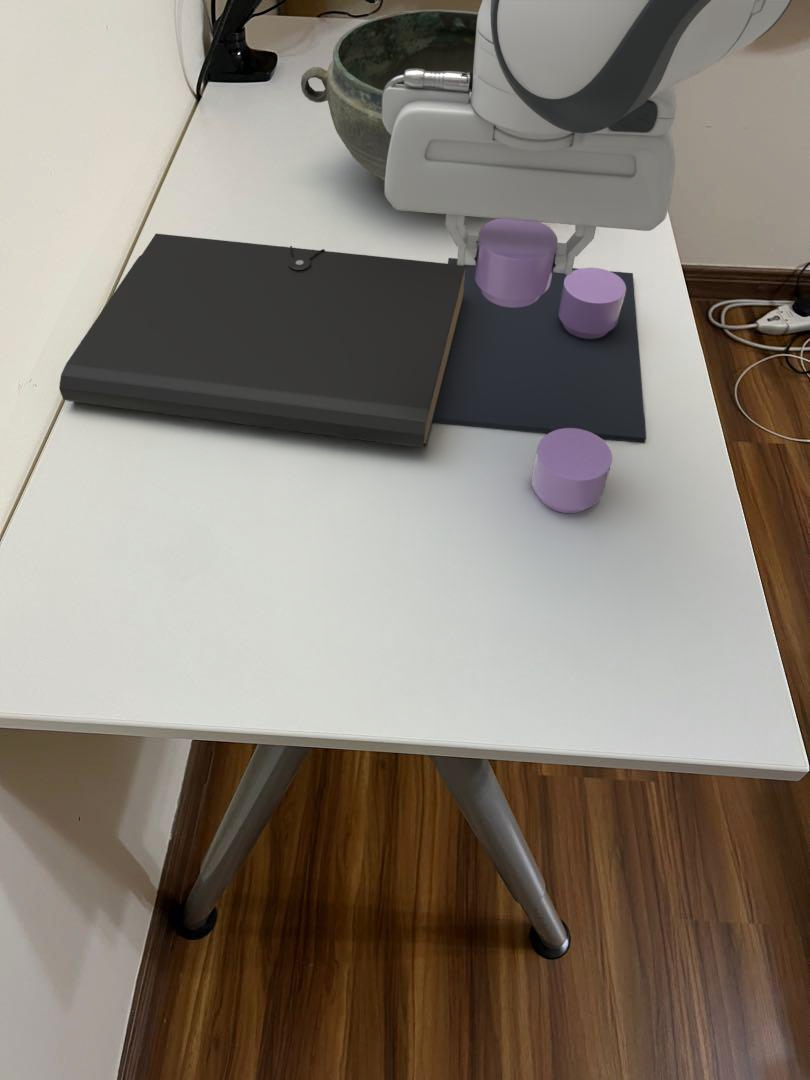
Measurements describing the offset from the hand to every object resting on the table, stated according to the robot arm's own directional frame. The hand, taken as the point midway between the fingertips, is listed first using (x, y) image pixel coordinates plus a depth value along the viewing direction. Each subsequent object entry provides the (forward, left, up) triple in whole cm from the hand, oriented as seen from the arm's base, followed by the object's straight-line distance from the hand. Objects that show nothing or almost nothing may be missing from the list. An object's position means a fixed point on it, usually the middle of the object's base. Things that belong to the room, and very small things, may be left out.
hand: (514, 266), depth 66 cm
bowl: (+10, -42, -16) cm, 46 cm away
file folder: (+21, -6, -15) cm, 27 cm away
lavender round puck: (-8, -14, -15) cm, 22 cm away
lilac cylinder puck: (0, 0, -2) cm, 2 cm away
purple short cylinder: (-6, +9, -15) cm, 19 cm away
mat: (-3, -11, -15) cm, 19 cm away
